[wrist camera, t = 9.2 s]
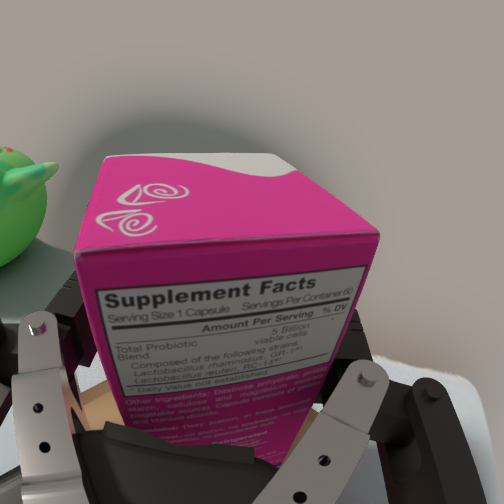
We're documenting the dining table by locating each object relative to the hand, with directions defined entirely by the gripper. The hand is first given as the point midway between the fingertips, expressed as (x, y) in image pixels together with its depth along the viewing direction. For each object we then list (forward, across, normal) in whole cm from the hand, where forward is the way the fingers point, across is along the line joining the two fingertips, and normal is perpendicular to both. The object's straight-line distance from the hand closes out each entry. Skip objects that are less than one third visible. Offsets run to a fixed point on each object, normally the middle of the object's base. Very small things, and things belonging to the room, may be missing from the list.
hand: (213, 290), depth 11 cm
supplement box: (-2, 0, +7) cm, 7 cm away
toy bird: (+15, +29, +13) cm, 35 cm away
